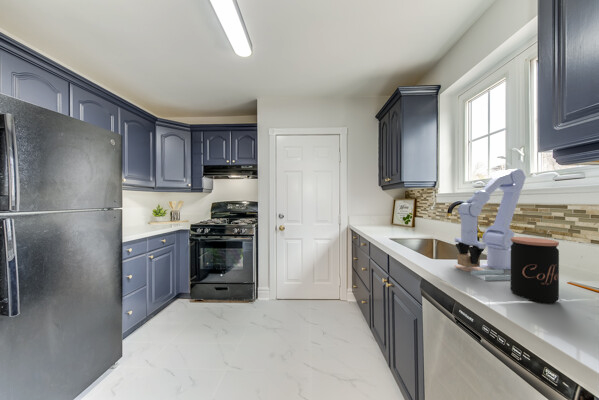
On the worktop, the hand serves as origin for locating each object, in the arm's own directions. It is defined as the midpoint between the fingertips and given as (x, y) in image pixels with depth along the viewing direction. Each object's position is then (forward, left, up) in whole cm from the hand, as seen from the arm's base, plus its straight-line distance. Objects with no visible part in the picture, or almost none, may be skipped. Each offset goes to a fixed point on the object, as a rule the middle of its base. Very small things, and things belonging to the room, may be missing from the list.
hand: (469, 261), depth 101 cm
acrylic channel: (-1, +11, -3) cm, 12 cm away
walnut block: (0, 0, -2) cm, 2 cm away
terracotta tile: (0, 0, -3) cm, 3 cm away
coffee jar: (+2, +28, -4) cm, 28 cm away
